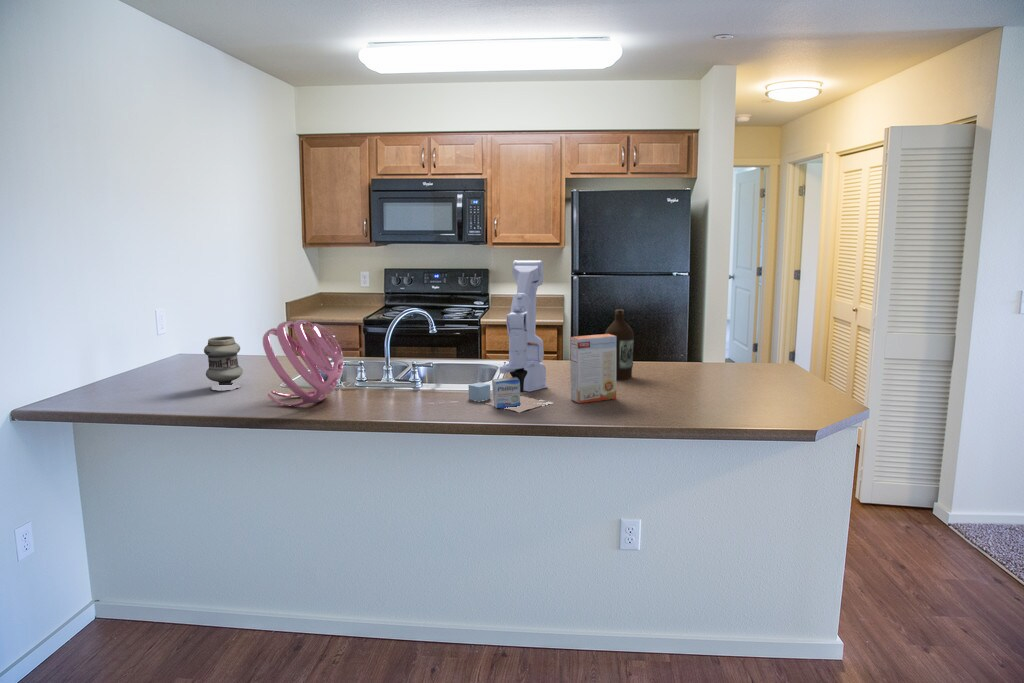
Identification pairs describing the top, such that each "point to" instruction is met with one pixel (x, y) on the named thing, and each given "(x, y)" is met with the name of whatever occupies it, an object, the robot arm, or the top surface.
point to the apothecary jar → (223, 360)
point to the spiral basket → (306, 360)
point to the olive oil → (622, 345)
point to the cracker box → (593, 368)
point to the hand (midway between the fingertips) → (518, 392)
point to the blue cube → (479, 391)
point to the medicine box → (506, 392)
